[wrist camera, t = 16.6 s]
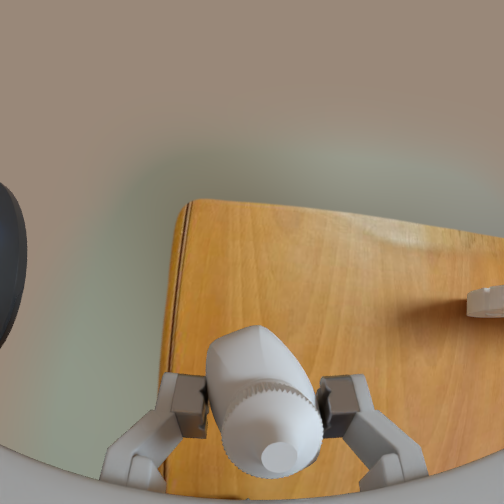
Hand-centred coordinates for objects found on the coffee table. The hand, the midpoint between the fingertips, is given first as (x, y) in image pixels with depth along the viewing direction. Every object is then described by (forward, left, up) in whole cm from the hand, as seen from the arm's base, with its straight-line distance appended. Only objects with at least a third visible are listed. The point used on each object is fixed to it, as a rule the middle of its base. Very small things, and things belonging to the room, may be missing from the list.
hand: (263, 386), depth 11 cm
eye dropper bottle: (0, 0, -7) cm, 7 cm away
